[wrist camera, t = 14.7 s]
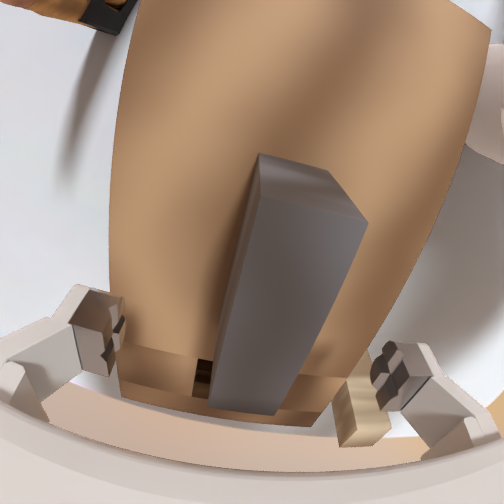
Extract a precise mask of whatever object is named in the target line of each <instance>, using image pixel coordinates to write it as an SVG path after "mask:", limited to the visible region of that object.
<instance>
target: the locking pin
mask: <svg viewBox="0 0 504 504" xmlns="http://www.w3.org/2000/svg"><path fill="white" fill-rule="evenodd" d="M371 365H372V362H371V359H370V356H369V353H368V350H367V349H366V351H365V352H364V354H363V355H362V357H361V359H360V360H359V362H358V363H357V365H356V366H355V368H354V369H353V370H352V372H351V373H350V375H349V376H348V378H347V379H346V381H345V382H344V383H343V385H342V386H341V388H340V389H339V390H338V392H337V393H336V395H335V396H334V397H333V399H332V400H331V402H332V407H333V413H334V419H335V425H336V431H337V437H338V443H339V447H364V446H373V445H374V444H375V443H376V442H377V441H378V440H379V439H381V438H382V437H383V436H384V435H385V434H386V433H387V432H388V431H389V430H390V429H391V428H392V427H391V424H390V420H389V417H388V413H387V411H380V409H379V406H378V403H377V400H376V396H375V395H376V393H377V389H375V388H374V387H373V386H372V384H371V380H370V370H371Z"/></svg>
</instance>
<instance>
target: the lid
mask: <svg viewBox="0 0 504 504" xmlns="http://www.w3.org/2000/svg"><path fill="white" fill-rule="evenodd" d="M490 36H491V29H490V28H488V27H487V26H486V25H484V24H483V23H482V22H480V21H479V20H478V19H476V18H475V17H473V16H472V15H471V14H469V13H468V12H466V11H465V10H463V9H462V8H460V7H459V6H457V5H456V4H454V3H452V2H451V1H449V0H141V2H140V5H139V9H138V13H137V16H136V20H135V24H134V28H133V32H132V36H131V41H130V45H129V50H128V54H127V59H126V64H125V69H124V75H123V80H122V86H121V92H120V98H119V105H118V112H117V119H116V127H115V136H114V145H113V156H112V168H111V182H110V202H109V280H110V293H113V294H117V295H121V296H123V297H124V298H125V309H124V311H123V313H122V315H123V316H124V318H125V319H126V327H125V335H124V339H123V343H122V345H121V348H120V349H119V350H117V351H116V352H115V355H116V363H117V371H118V378H119V384H120V391H121V397H124V398H128V399H131V400H135V401H139V402H143V403H147V404H151V405H155V406H159V407H164V408H168V409H173V410H178V411H182V412H188V413H193V414H198V415H204V416H210V417H216V418H222V419H229V420H237V421H244V422H253V423H262V424H273V425H285V426H300V427H311V426H312V425H313V423H314V422H315V421H316V420H317V418H318V417H319V416H320V415H321V413H322V412H323V411H324V409H325V408H326V407H327V405H328V404H329V403H330V401H331V400H332V399H333V397H334V396H335V395H336V393H337V392H338V390H339V389H340V388H341V386H342V385H343V383H344V382H345V381H346V379H347V378H348V376H349V375H350V373H351V372H352V370H353V369H354V368H355V366H356V365H357V363H358V362H359V360H360V359H361V357H362V355H363V354H364V352H365V351H366V349H367V348H368V346H369V345H370V343H371V341H372V340H373V338H374V337H375V335H376V333H377V332H378V330H379V328H380V327H381V325H382V324H383V322H384V320H385V318H386V317H387V315H388V313H389V312H390V310H391V308H392V306H393V305H394V303H395V301H396V299H397V297H398V296H399V294H400V292H401V290H402V288H403V286H404V285H405V283H406V281H407V279H408V277H409V275H410V273H411V271H412V269H413V267H414V265H415V263H416V261H417V259H418V257H419V255H420V253H421V251H422V249H423V247H424V245H425V243H426V241H427V239H428V236H429V234H430V232H431V230H432V228H433V225H434V223H435V221H436V218H437V216H438V214H439V211H440V209H441V207H442V204H443V202H444V199H445V197H446V194H447V192H448V189H449V187H450V184H451V182H452V179H453V176H454V174H455V171H456V168H457V165H458V162H459V160H460V157H461V154H462V151H463V148H464V145H465V142H466V138H467V135H468V132H469V129H470V125H471V122H472V118H473V115H474V111H475V107H476V104H477V100H478V96H479V92H480V88H481V83H482V79H483V74H484V69H485V65H486V59H487V54H488V48H489V42H490ZM198 358H199V359H204V360H209V361H213V367H212V374H211V382H210V384H205V383H199V382H194V379H195V373H196V367H197V361H198Z"/></svg>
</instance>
